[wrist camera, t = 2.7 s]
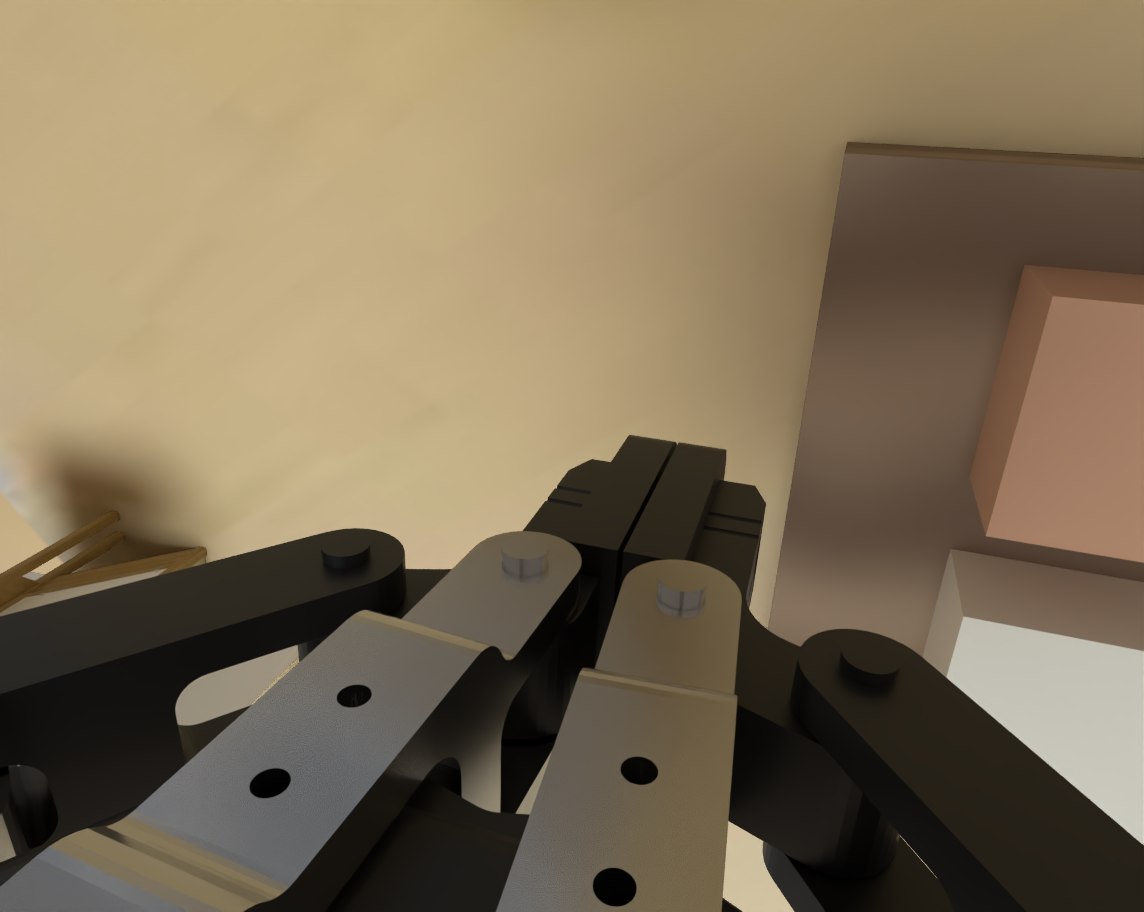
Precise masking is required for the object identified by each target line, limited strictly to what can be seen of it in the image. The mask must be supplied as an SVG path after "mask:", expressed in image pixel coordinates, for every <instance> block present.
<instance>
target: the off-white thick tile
mask: <svg viewBox="0 0 1144 912" xmlns="http://www.w3.org/2000/svg"><path fill="white" fill-rule="evenodd" d="M923 658H924V659H925V660H926V661H927V662H929V663H930V664H931V665H932V666H933V667H935V668H936V669H937V670H938V671H939V672H940V673H942V674H943V675H944V676H945V677H946V678H947V679H949V680H950V681H951V682H952V683H953V684H954V685H956V686H957V687H958V688H959V689H960V690H962V691H963V692H964V693H965V694H966V695H967V696H969V697H970V698H971V699H972V700H973V701H975V702H976V703H977V704H978V705H979V706H980V707H982V708H983V709H984V710H985V711H986V712H987V713H989V714H990V715H991V716H992V717H993V718H995V719H996V720H997V721H998V722H999V723H1000V724H1002V725H1003V726H1004V727H1005V728H1006V729H1007V730H1009V731H1010V732H1011V733H1012V734H1013V735H1015V736H1016V737H1017V738H1018V739H1019V740H1020V741H1022V742H1023V743H1024V744H1025V745H1026V746H1027V747H1029V748H1030V749H1031V750H1032V751H1033V752H1035V753H1036V754H1037V755H1038V756H1039V757H1040V758H1042V759H1043V760H1044V761H1045V762H1046V763H1047V764H1049V765H1050V766H1051V767H1052V768H1053V769H1055V770H1056V771H1057V772H1058V773H1059V774H1060V775H1062V776H1063V777H1064V778H1065V779H1066V780H1067V781H1069V782H1070V783H1071V784H1072V785H1073V786H1075V787H1076V788H1077V789H1078V790H1079V791H1080V792H1082V793H1083V794H1084V795H1085V796H1086V797H1087V798H1089V799H1090V800H1091V801H1092V802H1093V803H1095V804H1096V805H1097V806H1098V807H1099V808H1100V809H1102V810H1103V811H1104V812H1105V813H1106V814H1107V815H1109V816H1110V817H1111V818H1112V819H1113V820H1115V821H1116V822H1117V823H1118V824H1119V825H1120V826H1122V827H1123V828H1124V829H1125V830H1126V831H1127V832H1129V833H1130V834H1131V835H1132V836H1133V837H1135V838H1136V839H1137V840H1138V841H1139V842H1140V843H1142V844H1144V582H1139V581H1134V580H1128V579H1122V578H1116V577H1111V576H1105V575H1099V574H1093V573H1087V572H1082V571H1076V570H1070V569H1064V568H1059V567H1053V566H1047V565H1041V564H1036V563H1030V562H1024V561H1018V560H1012V559H1007V558H1001V557H995V556H989V555H984V554H978V553H972V552H966V551H960V550H955V549H950V553H949V557H948V561H947V564H946V568H945V572H944V576H943V580H942V584H941V587H940V591H939V595H938V599H937V603H936V607H935V611H934V614H933V618H932V622H931V626H930V630H929V634H928V637H927V641H926V645H925V649H924V653H923Z"/></svg>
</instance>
